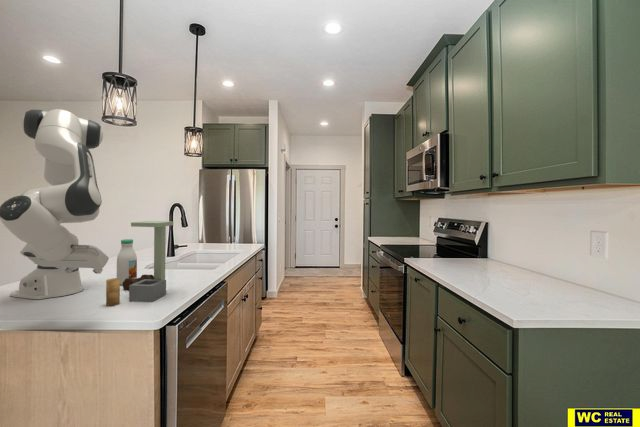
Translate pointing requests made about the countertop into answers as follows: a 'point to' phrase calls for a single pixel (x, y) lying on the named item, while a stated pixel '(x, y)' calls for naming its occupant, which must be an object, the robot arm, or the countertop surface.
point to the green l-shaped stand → (157, 245)
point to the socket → (147, 290)
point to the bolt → (135, 280)
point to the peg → (112, 292)
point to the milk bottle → (126, 261)
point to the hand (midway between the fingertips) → (85, 271)
